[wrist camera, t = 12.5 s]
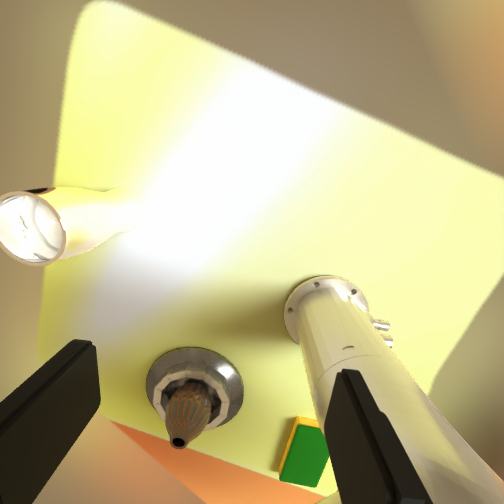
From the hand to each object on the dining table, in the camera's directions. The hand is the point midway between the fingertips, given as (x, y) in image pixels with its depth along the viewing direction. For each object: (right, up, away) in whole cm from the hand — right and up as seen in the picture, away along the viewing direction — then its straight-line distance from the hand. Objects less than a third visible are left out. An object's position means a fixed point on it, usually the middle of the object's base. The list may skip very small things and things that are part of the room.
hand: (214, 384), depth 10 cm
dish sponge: (+12, -31, +38) cm, 50 cm away
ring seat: (-8, -19, +34) cm, 40 cm away
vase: (-8, -19, +34) cm, 40 cm away
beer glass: (-17, +11, +26) cm, 33 cm away
